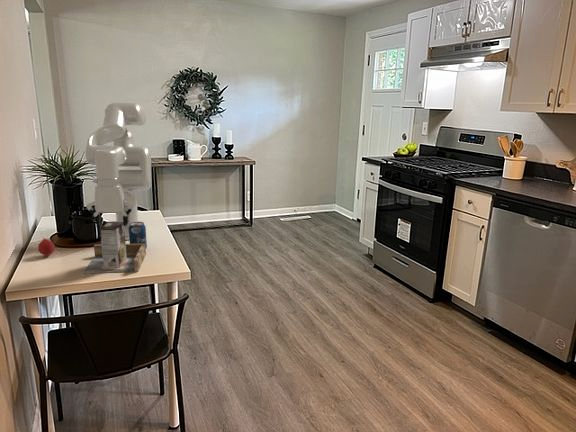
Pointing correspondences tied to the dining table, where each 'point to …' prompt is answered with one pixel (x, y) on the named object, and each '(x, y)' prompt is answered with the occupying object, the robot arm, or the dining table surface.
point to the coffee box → (113, 244)
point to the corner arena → (131, 264)
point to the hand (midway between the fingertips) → (112, 225)
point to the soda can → (137, 233)
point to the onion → (46, 247)
